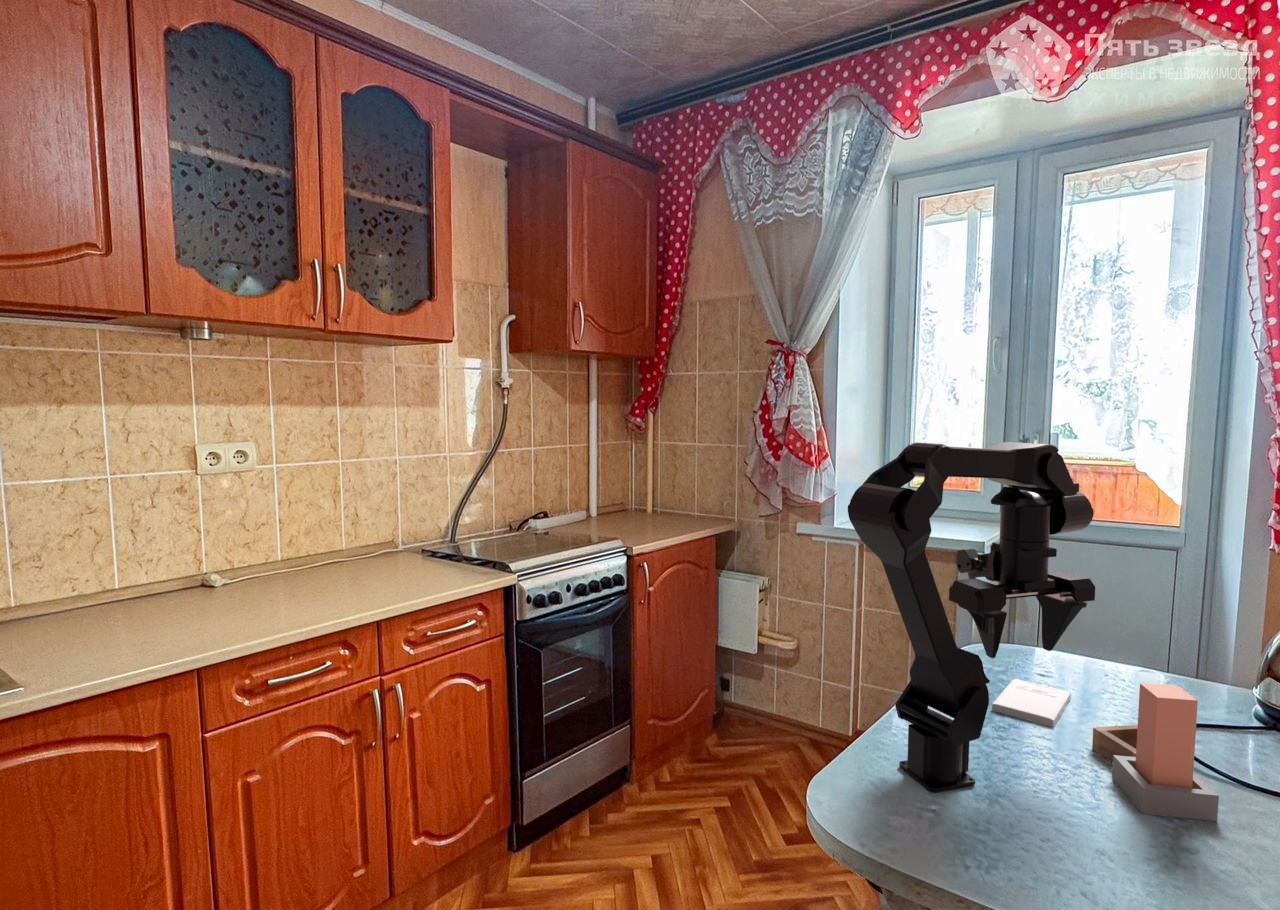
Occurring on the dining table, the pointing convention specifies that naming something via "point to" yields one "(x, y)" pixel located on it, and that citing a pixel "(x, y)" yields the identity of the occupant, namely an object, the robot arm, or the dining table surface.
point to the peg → (1166, 735)
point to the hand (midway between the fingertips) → (1019, 653)
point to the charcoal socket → (1165, 794)
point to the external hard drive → (1032, 702)
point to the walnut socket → (1115, 741)
